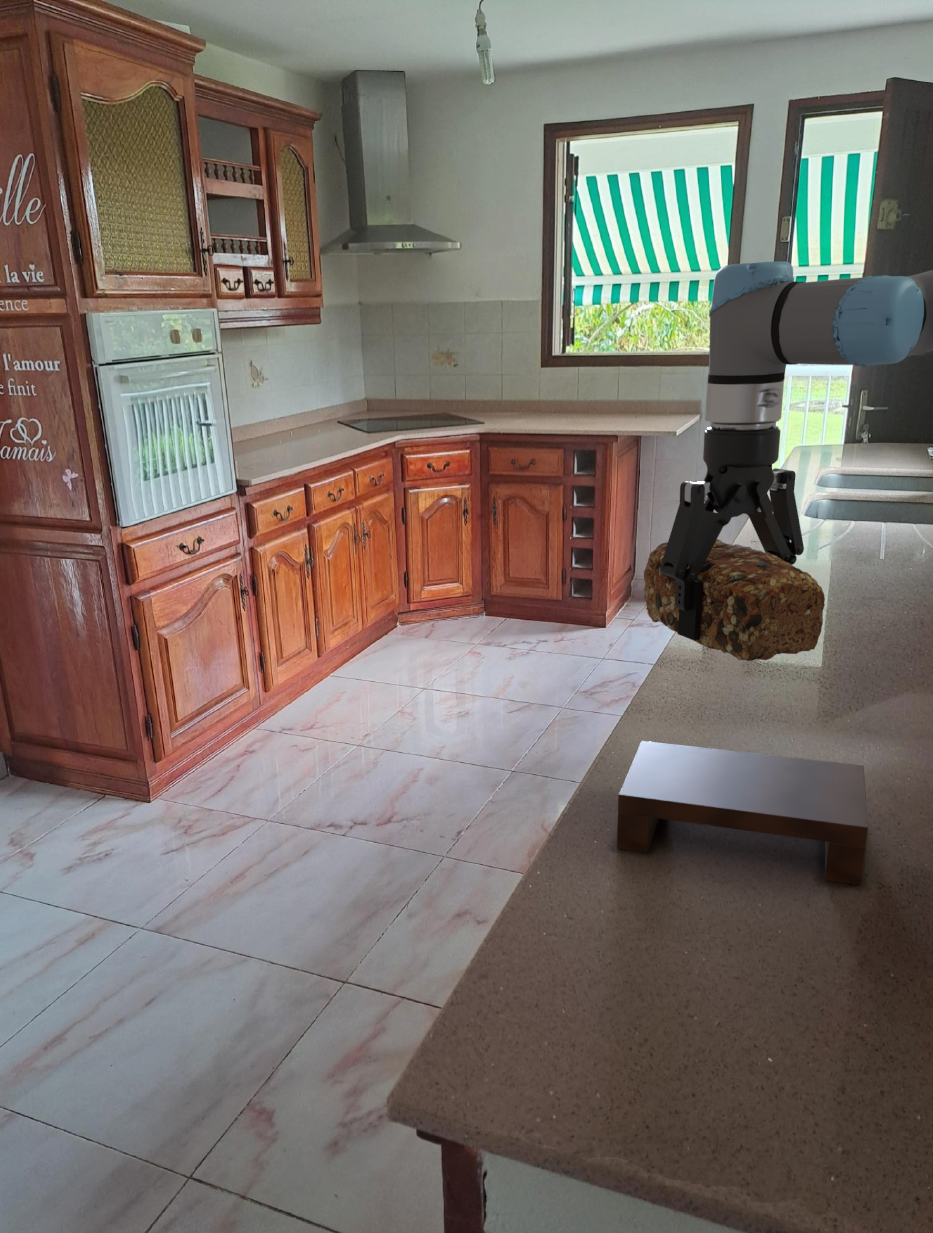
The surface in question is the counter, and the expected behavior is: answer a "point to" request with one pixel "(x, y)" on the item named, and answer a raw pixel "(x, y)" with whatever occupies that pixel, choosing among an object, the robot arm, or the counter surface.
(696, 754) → the shelf
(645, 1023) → the counter surface
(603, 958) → the counter surface
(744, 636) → the bread
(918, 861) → the counter surface
